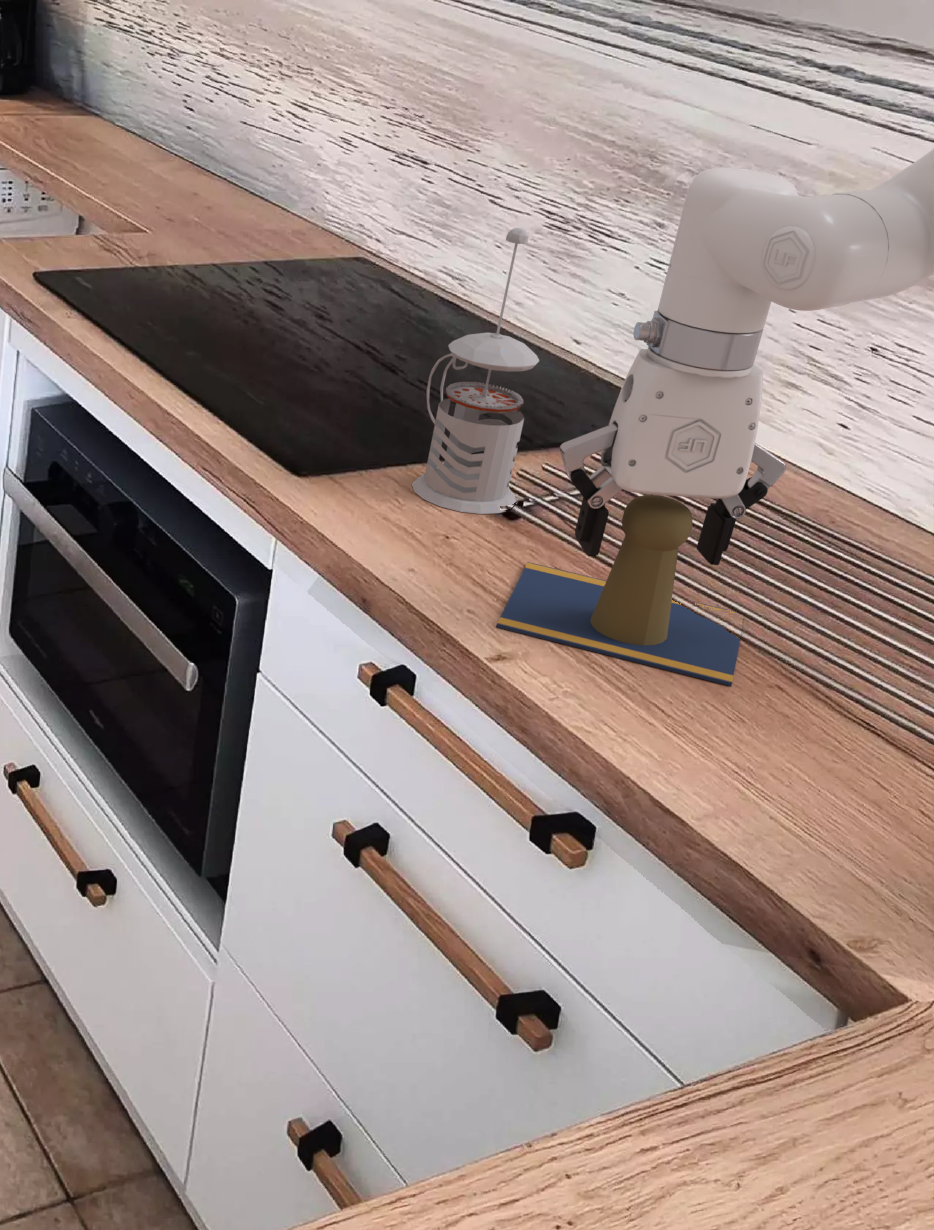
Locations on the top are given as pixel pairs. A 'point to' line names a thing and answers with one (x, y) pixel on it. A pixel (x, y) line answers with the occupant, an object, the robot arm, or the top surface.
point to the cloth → (563, 615)
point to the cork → (643, 572)
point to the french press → (477, 423)
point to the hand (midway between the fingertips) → (647, 553)
